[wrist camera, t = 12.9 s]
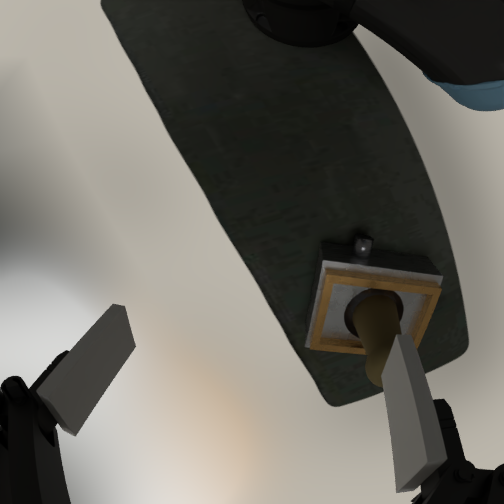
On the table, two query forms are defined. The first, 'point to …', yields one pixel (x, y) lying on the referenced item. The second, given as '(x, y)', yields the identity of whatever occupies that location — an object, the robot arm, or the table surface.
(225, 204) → the table surface
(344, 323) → the grey box with hole
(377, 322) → the cork
